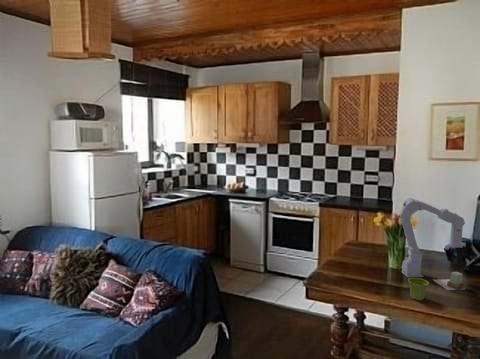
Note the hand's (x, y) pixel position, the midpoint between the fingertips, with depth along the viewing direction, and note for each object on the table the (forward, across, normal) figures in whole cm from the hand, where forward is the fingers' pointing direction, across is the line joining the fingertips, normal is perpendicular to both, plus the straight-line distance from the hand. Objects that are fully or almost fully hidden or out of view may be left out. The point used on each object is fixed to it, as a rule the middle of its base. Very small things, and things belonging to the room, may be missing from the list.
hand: (454, 260), depth 223 cm
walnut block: (+10, -11, -10) cm, 18 cm away
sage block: (+7, -11, -10) cm, 17 cm away
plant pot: (+11, -40, -11) cm, 43 cm away
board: (+10, -12, -6) cm, 17 cm away
